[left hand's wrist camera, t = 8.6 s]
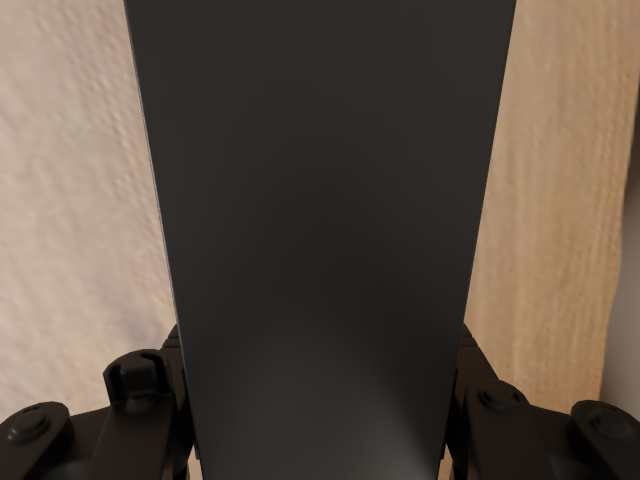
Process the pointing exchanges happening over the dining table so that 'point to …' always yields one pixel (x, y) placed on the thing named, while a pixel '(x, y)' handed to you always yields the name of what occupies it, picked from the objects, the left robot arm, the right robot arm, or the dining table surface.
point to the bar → (320, 219)
